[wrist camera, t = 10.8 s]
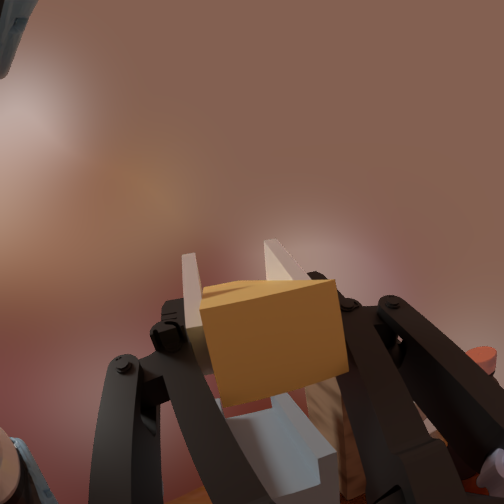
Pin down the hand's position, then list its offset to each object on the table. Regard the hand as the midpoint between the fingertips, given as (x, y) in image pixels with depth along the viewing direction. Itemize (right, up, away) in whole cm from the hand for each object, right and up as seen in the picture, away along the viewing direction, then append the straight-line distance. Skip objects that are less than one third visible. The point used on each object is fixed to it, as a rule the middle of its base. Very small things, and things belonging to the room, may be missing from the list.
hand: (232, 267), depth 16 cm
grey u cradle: (+6, -36, +5) cm, 37 cm away
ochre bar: (0, -4, +3) cm, 5 cm away
